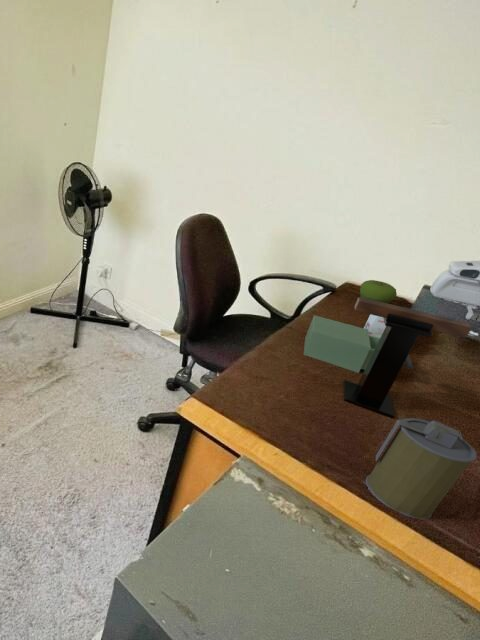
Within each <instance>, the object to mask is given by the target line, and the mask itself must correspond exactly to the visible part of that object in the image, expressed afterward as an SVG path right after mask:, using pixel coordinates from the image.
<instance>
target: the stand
mask: <svg viewBox="0 0 480 640" xmlns="http://www.w3.org/2000/svg"><path fill="white" fill-rule="evenodd" d="M384 323H385V326H386V327H385V330H384V332H383V334H382V336H381V338H380V340H379V342H378V344H377V346H376V348H375V350H374V352H373V354H372V356H371V358H370V360H369V363H368V365H367V367H366V369H365V370H363V373H362V375H361V377H360V379H359V381H358V383H355V382H352V381H349V380H345V379H344V380H343V383H342V385H343V401H344V402H347V403H348V404H352V405H354V406H357V407H359V408H362V409H365V410H368V411H370V412H373V413H375V414H379V415H381V416H384V417H386V418H389V419H392V420H394V419H395V417H396V415H395V409H394V405H393V399H392V396H391V394H389V392H390V391H391V389H392V386H393V385H394V383H395V381H396V379H397V377H398V375H399V373H400V371H401V369H402V367H404V366H403V364H404V363H405V360H406V358H407V356H408V354H409V355H410V352H411V351H412V349H413V347H414V345H415V343H416V341H417V339H418V337H419V336H425V337H427V338H431V336H432V330H431V329H432V327H433V324H429V323H425V322H421V321H417V320H413V319H409V318H405V317H401V316H397V315H393V314H388V315H387V317H386V318H384Z"/></svg>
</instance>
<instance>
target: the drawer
mask: <svg viewBox="0 0 480 640" xmlns="http://www.w3.org/2000/svg"><path fill="white" fill-rule="evenodd" d="M369 340H370V346H371V348H370V351H369V353H368V355H367V357H366V359H365V361H364V363H363V365H362V367H361V369H360V370H363V371H365V369H366V367H367V365H368V363H369V360H370V358H371V356H372V354H373V352H374V350H375V348H376V346H377V344H378V342H379V340H380V338H378V337H375V336H371V335H369ZM402 367H405V368H406V369H408V370H412V369H414V365H413V361H412V358H411V355H410V353H409V354H408V356H407V358H406V360H405V362H404V364H403V366H402Z"/></svg>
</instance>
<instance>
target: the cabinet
mask: <svg viewBox="0 0 480 640" xmlns="http://www.w3.org/2000/svg"><path fill="white" fill-rule="evenodd" d="M303 348H304V349H303V356H307V357H308V358H309V357H310V358H312V359H315V360H319V361H321V362H324V363H328V364H331V365H333V366H336V367H340V368H343V369H345V370H347V371H348V370H349V371H351V372H354V373H358V374H360V372H361V370H362V369H361V367H362V365H363V363H364V361H365V359H366V357H367V355H368V353H369V351H370V348H371V346H370V340H369V333H368V330H367V329H364V327H359V326H355V325H353V324H348V323H344V322H342V321H341V322H340V321H337V320H334V319H329V318H326V317H322V316H318V315H315V314H314V315H313V317H312V320H311V322H310V324H309V327H308V329H307V332H306V334H305V337H304V346H303Z"/></svg>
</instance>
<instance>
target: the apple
mask: <svg viewBox="0 0 480 640" xmlns="http://www.w3.org/2000/svg"><path fill="white" fill-rule="evenodd" d="M359 288H360V289H359V295H360V297H362V298H366V299H371V300H375V301H379V302H383V303H388V304H389V303H390V302H391V301H393V300H394V299H395V298H396V296H398V295H397V289H396V288H395V287H394V286H393V285H391V284H390V283H387V282H385V281H380V280H374V279H369V280H365V281H363V282H362V283H361V284H360V287H359Z"/></svg>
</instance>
